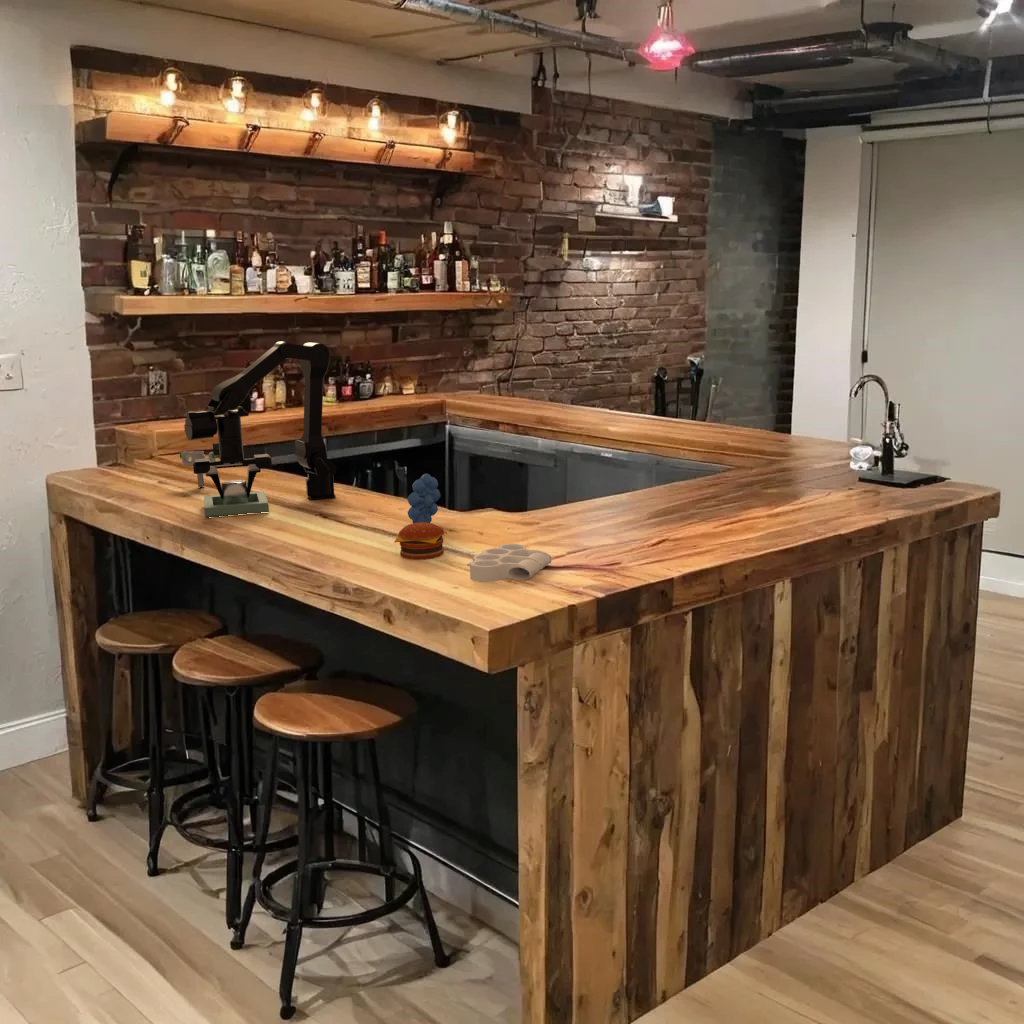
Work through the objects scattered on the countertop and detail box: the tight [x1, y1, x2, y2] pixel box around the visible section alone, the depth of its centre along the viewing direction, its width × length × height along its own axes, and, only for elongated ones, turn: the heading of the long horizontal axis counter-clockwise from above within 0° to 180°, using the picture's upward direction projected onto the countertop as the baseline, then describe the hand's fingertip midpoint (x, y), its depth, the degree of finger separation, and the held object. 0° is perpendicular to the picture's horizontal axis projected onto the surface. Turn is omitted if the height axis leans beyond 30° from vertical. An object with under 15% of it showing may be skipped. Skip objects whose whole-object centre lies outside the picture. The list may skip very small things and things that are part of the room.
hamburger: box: [394, 522, 448, 561], centre depth 233 cm, size 9×10×7 cm
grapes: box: [407, 473, 441, 524], centre depth 257 cm, size 12×7×12 cm, turn 151°
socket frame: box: [203, 490, 270, 519], centre depth 281 cm, size 15×15×3 cm
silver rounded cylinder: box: [221, 479, 248, 505], centre depth 280 cm, size 6×6×5 cm
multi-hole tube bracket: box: [465, 543, 553, 583], centre depth 220 cm, size 3×18×15 cm
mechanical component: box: [179, 450, 218, 488], centre depth 309 cm, size 3×10×10 cm, turn 79°
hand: (235, 497), depth 281 cm, fingers closed on silver rounded cylinder, 6 cm apart
